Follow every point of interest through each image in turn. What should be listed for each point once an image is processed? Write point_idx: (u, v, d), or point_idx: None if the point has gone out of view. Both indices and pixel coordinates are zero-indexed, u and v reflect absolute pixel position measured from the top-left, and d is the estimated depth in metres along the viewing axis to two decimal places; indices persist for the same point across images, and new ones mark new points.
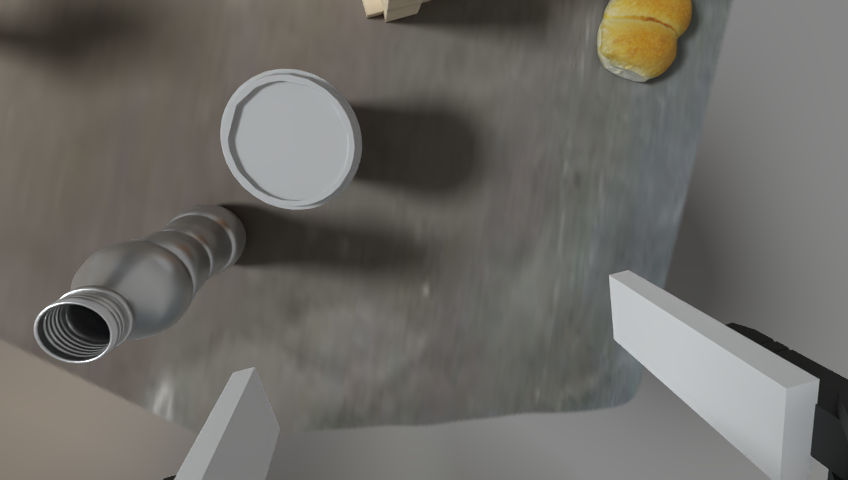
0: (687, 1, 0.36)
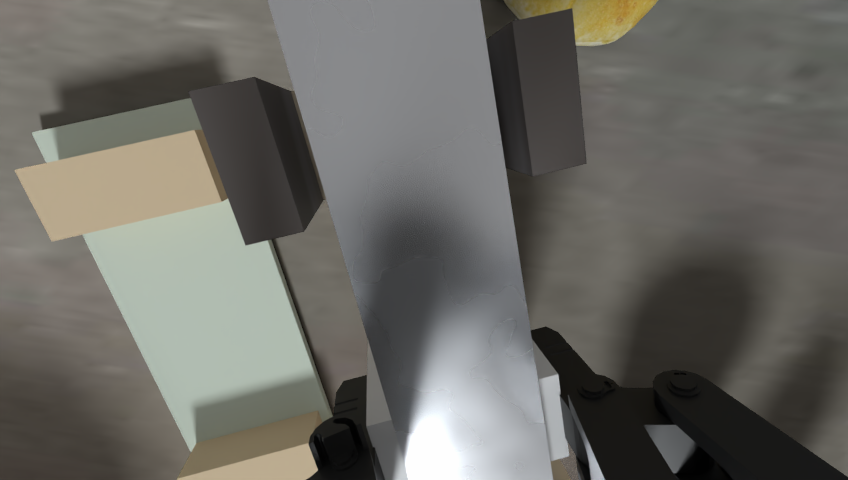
0: None
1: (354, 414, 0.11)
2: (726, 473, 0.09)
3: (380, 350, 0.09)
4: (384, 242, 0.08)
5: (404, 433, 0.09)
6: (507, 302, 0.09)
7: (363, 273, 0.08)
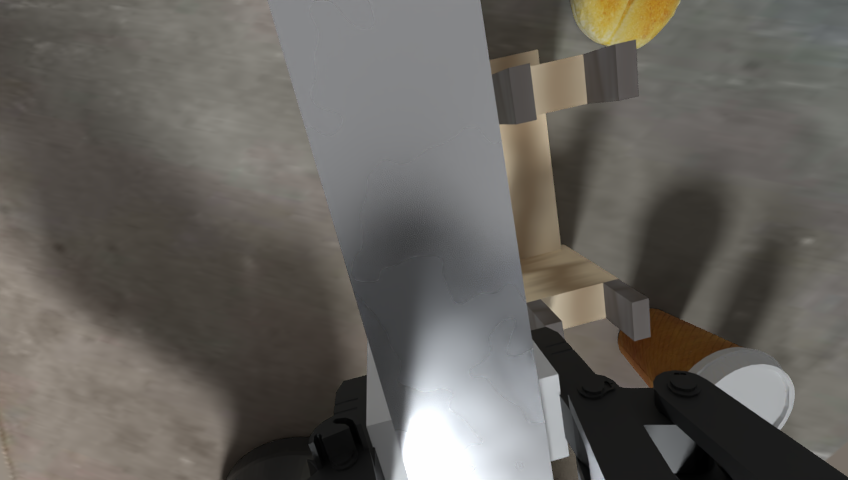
0: None
1: (354, 414, 0.11)
2: (726, 473, 0.09)
3: (380, 349, 0.09)
4: (384, 240, 0.08)
5: (404, 432, 0.09)
6: (507, 301, 0.09)
7: (363, 272, 0.08)
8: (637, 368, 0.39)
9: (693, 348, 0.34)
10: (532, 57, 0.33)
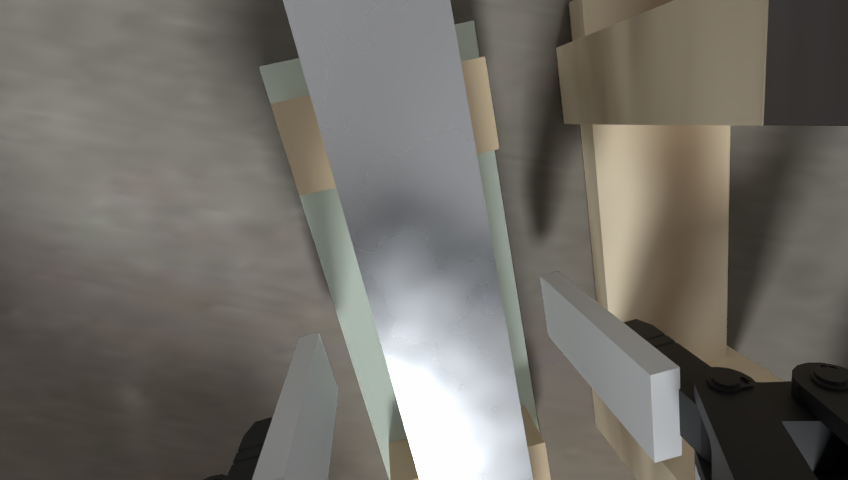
0: None
1: (253, 464, 0.10)
2: None
3: (377, 307, 0.11)
4: (380, 217, 0.10)
5: (397, 378, 0.11)
6: (481, 268, 0.11)
7: (364, 243, 0.10)
8: None
9: None
10: None
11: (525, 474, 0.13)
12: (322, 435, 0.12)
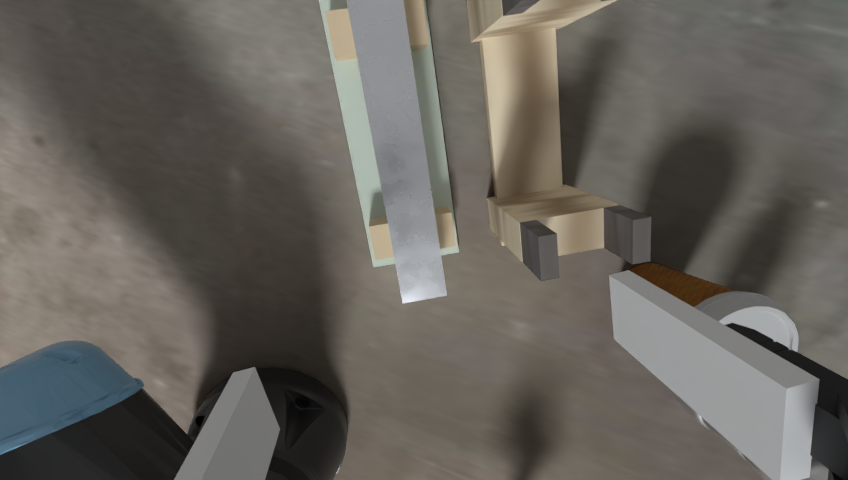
0: None
1: None
2: None
3: (366, 90, 0.26)
4: (369, 50, 0.26)
5: (372, 125, 0.27)
6: (408, 77, 0.26)
7: (362, 60, 0.26)
8: None
9: (693, 293, 0.32)
10: None
11: (427, 186, 0.29)
12: None
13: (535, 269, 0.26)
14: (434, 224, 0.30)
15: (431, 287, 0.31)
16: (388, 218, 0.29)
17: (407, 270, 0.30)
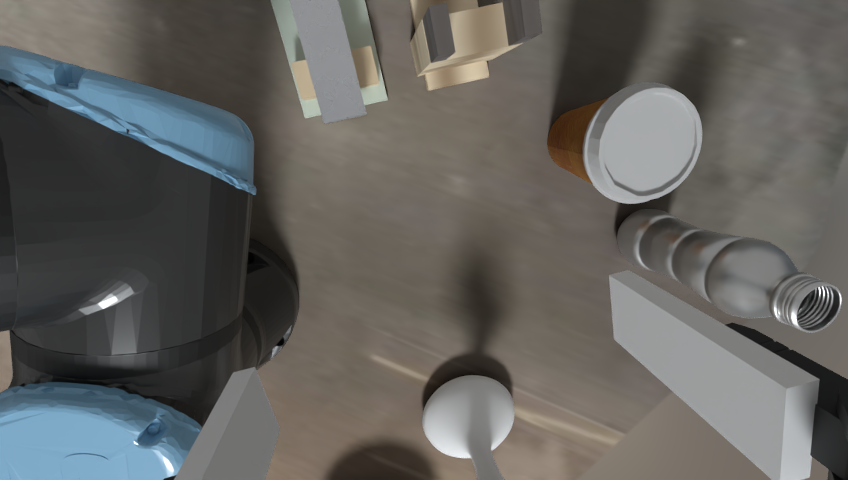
0: None
1: None
2: None
3: None
4: None
5: None
6: None
7: None
8: (561, 154, 0.39)
9: (605, 101, 0.34)
10: None
11: None
12: None
13: (434, 50, 0.28)
14: (345, 36, 0.31)
15: (350, 105, 0.32)
16: (299, 30, 0.30)
17: (324, 87, 0.32)
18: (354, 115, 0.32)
